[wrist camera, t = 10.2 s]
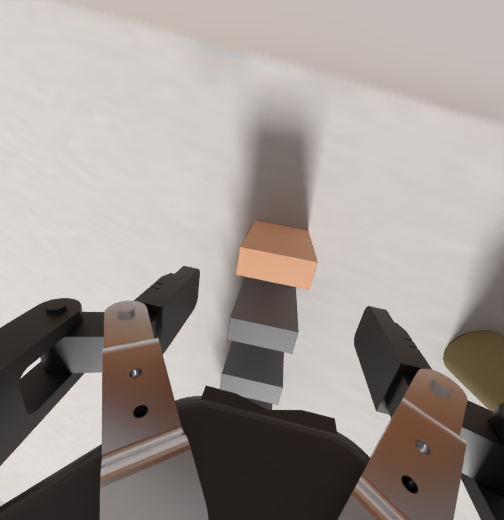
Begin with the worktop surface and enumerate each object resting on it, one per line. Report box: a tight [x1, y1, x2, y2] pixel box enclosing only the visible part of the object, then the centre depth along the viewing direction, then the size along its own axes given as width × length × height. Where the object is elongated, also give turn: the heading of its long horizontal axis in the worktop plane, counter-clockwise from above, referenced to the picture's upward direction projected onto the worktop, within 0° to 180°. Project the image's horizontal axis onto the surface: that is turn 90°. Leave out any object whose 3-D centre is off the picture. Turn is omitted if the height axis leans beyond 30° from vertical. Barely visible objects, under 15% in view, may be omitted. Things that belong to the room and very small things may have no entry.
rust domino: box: [236, 220, 318, 290], centre depth 20 cm, size 5×2×8 cm, turn 81°
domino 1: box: [227, 277, 298, 354], centre depth 22 cm, size 5×2×8 cm, turn 81°
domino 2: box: [220, 341, 284, 405], centre depth 24 cm, size 5×2×8 cm, turn 81°
